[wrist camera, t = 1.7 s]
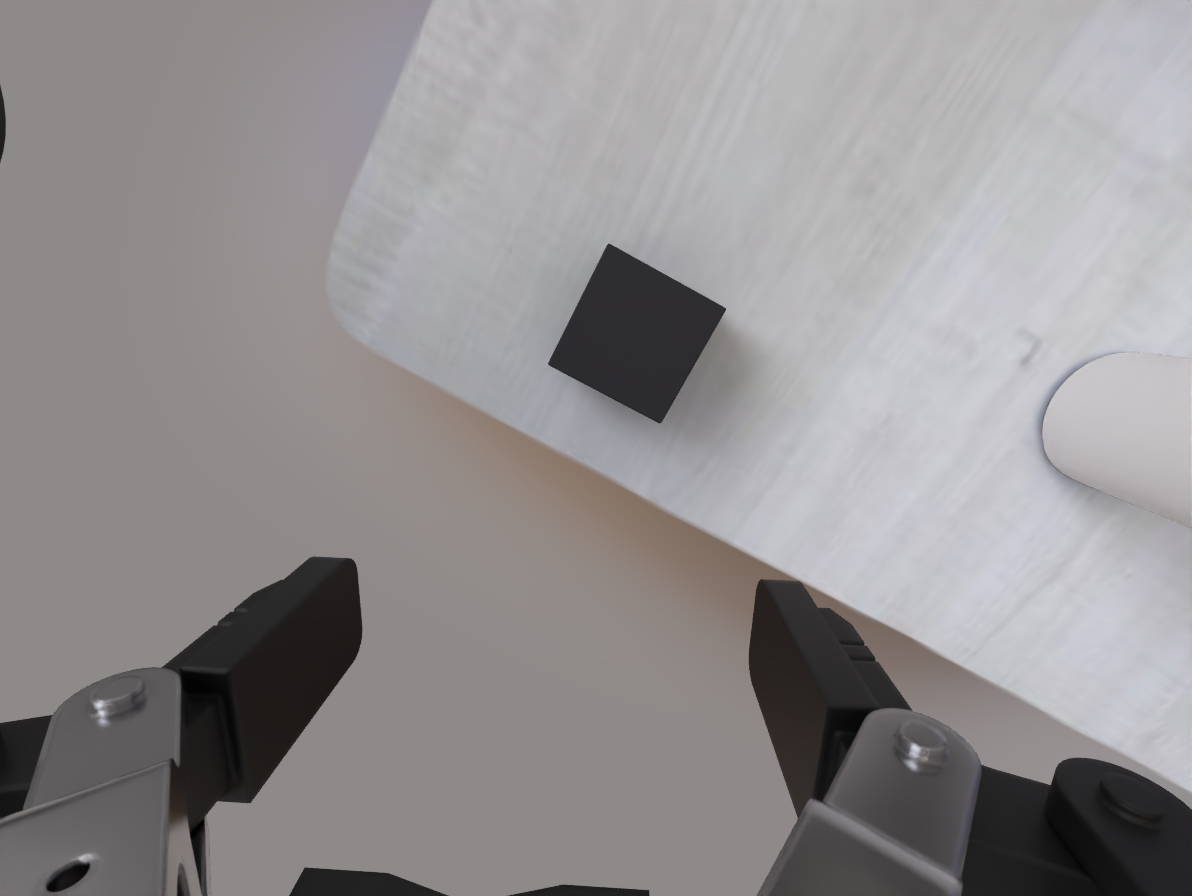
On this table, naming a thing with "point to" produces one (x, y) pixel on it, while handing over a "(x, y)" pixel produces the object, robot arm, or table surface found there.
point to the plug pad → (635, 334)
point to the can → (1127, 430)
